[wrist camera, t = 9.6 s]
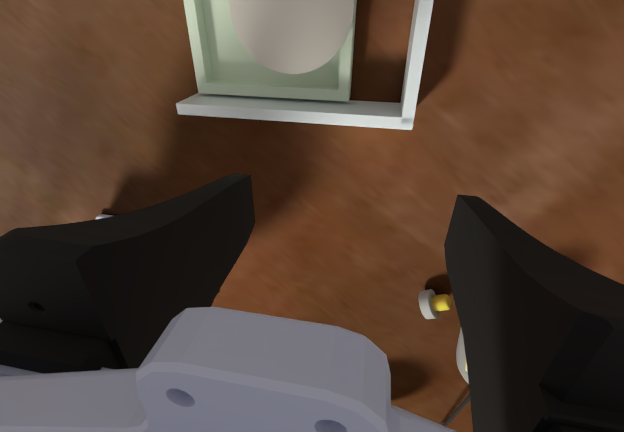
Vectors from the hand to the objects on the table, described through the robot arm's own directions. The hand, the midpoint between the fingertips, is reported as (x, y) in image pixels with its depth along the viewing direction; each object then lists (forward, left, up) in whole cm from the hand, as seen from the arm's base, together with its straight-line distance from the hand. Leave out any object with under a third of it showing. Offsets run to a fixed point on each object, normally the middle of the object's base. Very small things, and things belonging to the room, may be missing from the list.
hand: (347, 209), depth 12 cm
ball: (-5, +6, -10) cm, 12 cm away
